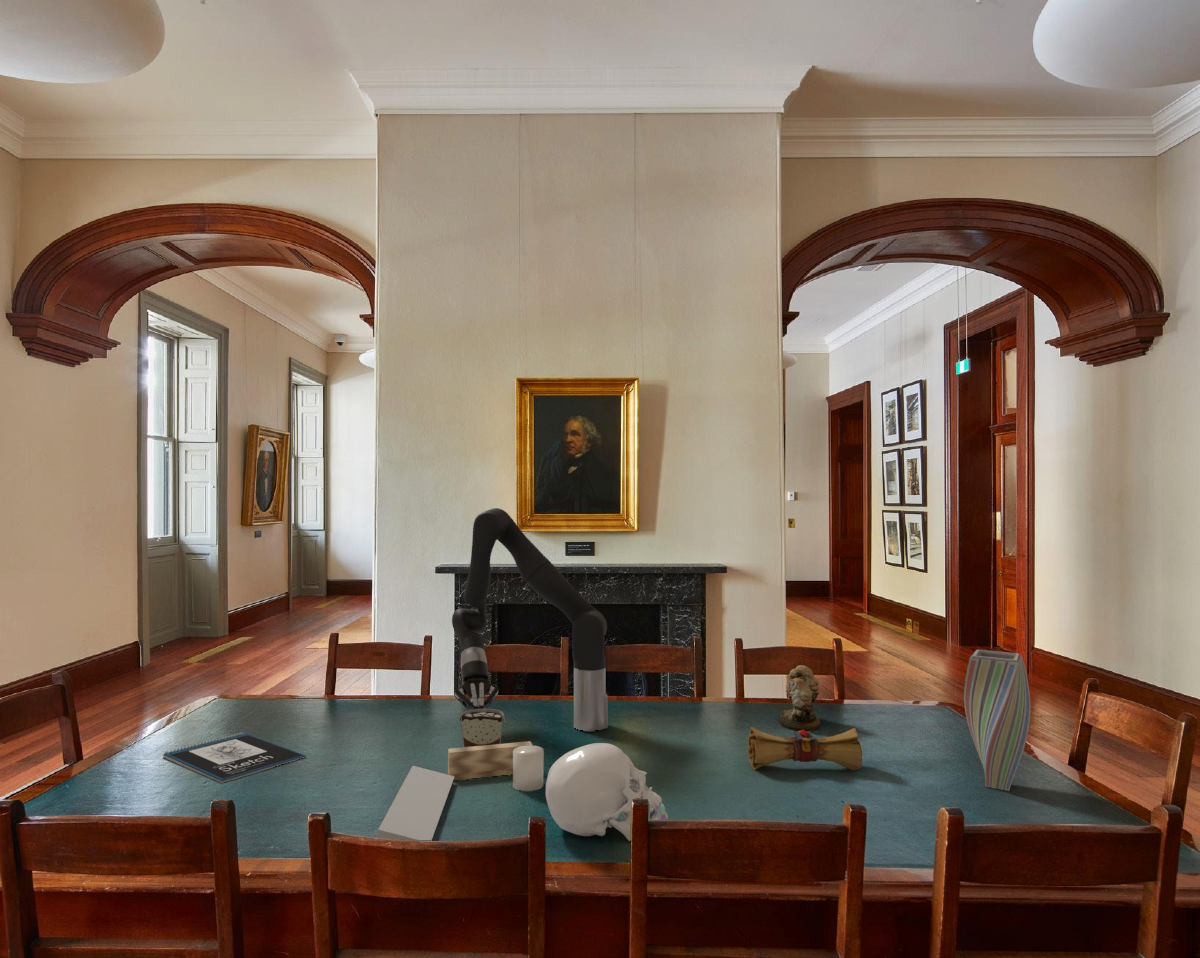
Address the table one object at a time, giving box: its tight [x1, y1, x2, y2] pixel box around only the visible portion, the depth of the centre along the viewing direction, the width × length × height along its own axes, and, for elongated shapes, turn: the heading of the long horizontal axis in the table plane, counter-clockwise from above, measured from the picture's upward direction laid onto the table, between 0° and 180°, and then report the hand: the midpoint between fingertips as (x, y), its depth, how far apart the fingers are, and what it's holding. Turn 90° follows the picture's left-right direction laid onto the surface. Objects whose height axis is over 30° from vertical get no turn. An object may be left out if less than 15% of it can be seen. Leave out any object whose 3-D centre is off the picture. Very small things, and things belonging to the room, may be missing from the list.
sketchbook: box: [163, 731, 307, 784], centre depth 191 cm, size 22×30×2 cm
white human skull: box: [545, 742, 670, 842], centre depth 149 cm, size 16×20×22 cm
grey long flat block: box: [375, 765, 455, 841], centre depth 157 cm, size 34×5×10 cm
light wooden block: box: [447, 740, 534, 781], centre depth 180 cm, size 20×5×6 cm, turn 107°
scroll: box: [747, 726, 863, 772], centre depth 184 cm, size 27×10×10 cm, turn 89°
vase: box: [963, 649, 1032, 792], centre depth 174 cm, size 14×14×30 cm
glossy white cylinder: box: [512, 745, 545, 792], centre depth 173 cm, size 7×7×8 cm
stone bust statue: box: [778, 664, 821, 732], centre depth 223 cm, size 18×12×17 cm, turn 175°
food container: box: [458, 708, 506, 747], centre depth 198 cm, size 12×6×10 cm, turn 84°
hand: (479, 720), depth 207 cm, fingers closed
